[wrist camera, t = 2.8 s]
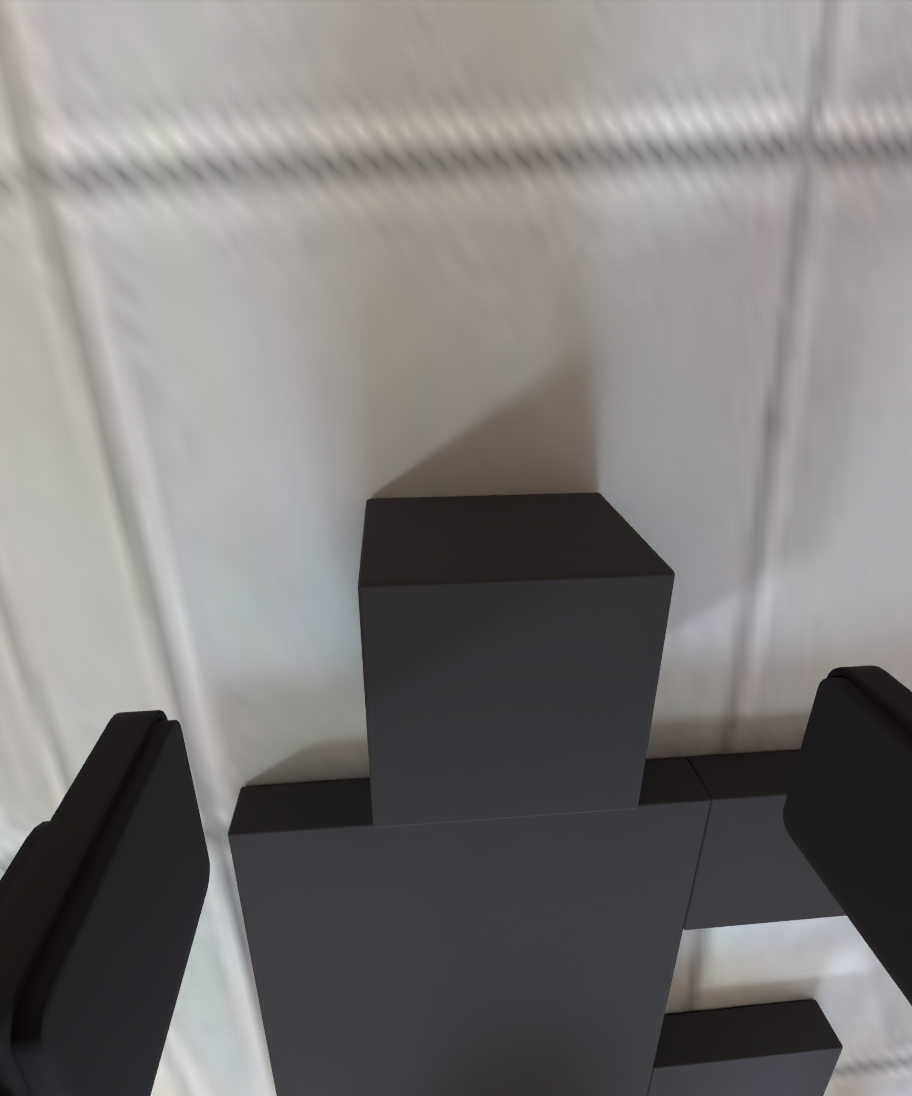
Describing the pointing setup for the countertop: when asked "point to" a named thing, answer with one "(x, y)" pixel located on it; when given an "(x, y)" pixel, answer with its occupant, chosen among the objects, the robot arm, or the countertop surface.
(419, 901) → the base pad
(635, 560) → the pad piece
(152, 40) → the countertop surface
